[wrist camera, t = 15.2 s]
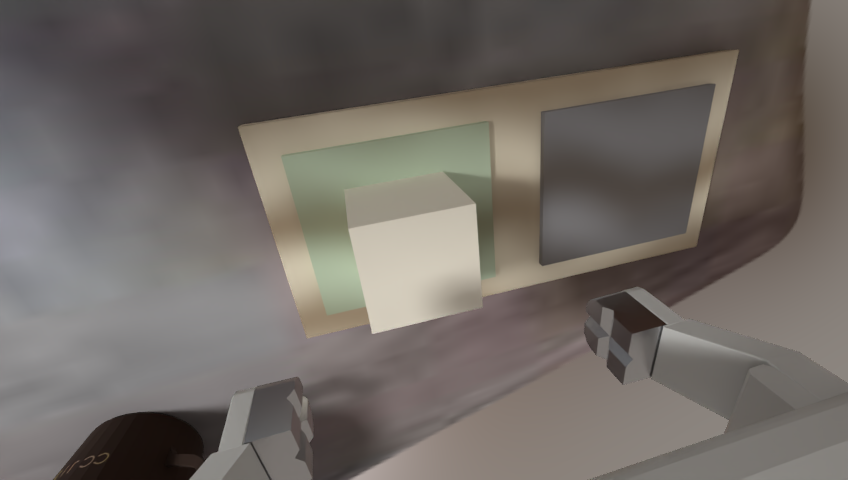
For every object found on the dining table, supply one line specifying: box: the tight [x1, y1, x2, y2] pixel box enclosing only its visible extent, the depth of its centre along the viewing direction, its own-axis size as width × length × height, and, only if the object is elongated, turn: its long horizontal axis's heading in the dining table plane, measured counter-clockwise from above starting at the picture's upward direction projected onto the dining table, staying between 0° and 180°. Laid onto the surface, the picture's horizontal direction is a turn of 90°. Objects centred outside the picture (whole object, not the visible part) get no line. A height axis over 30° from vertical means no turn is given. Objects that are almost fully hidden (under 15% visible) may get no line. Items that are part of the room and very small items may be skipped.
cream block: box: [344, 171, 483, 334], centre depth 18 cm, size 5×5×5 cm
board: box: [238, 50, 739, 338], centre depth 22 cm, size 12×26×1 cm, turn 97°
